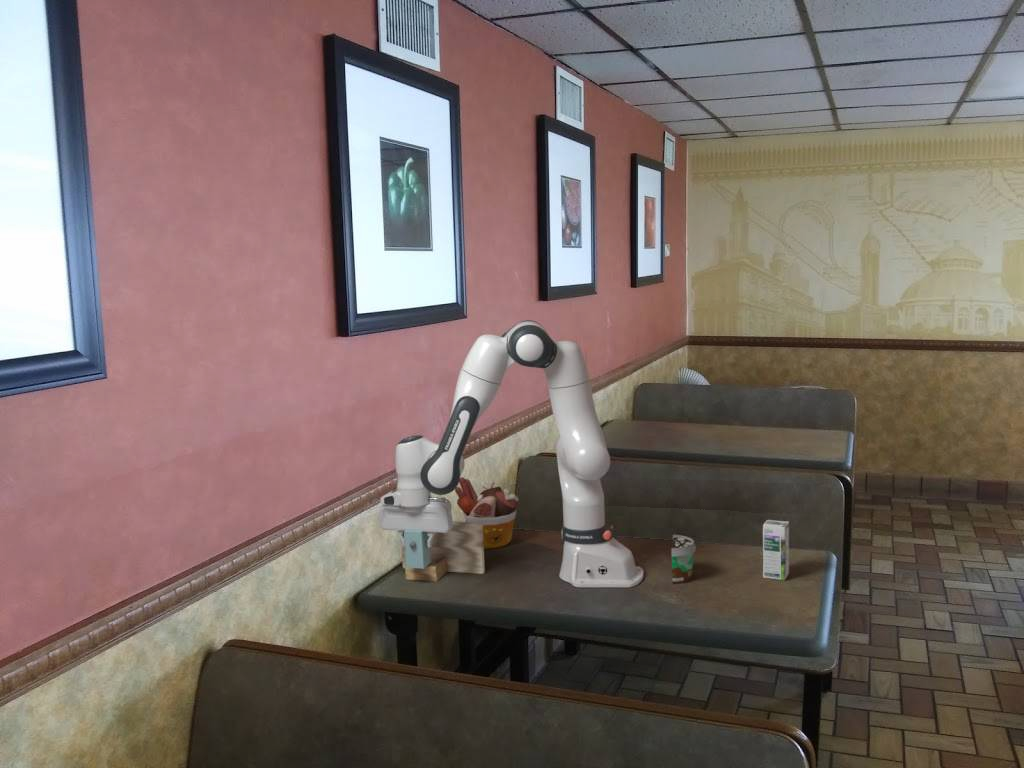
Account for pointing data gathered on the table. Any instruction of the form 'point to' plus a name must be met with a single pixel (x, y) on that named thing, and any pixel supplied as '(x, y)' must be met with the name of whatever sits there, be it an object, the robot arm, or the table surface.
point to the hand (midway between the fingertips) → (417, 546)
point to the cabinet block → (416, 549)
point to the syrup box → (776, 549)
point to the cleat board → (452, 553)
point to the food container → (682, 559)
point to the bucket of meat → (489, 511)
